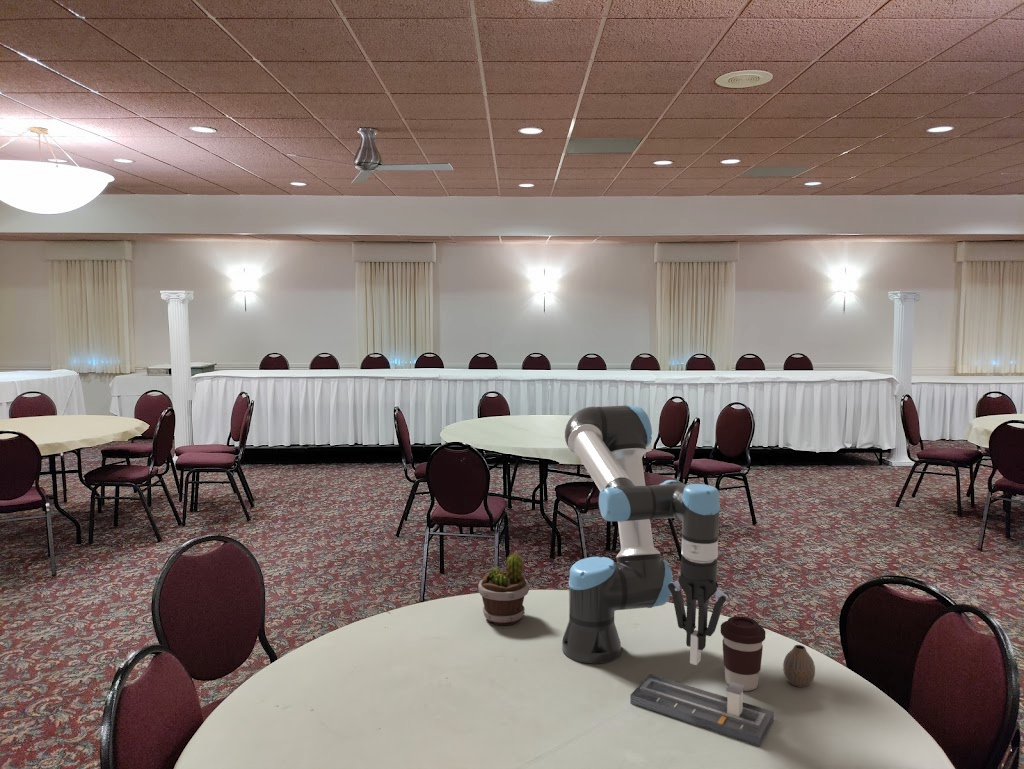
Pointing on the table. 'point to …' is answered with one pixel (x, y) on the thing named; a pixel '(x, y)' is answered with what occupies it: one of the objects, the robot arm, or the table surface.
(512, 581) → the flowerpot
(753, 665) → the coffee cup
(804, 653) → the vase
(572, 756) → the table surface
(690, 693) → the console
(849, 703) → the table surface
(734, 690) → the fader knob
